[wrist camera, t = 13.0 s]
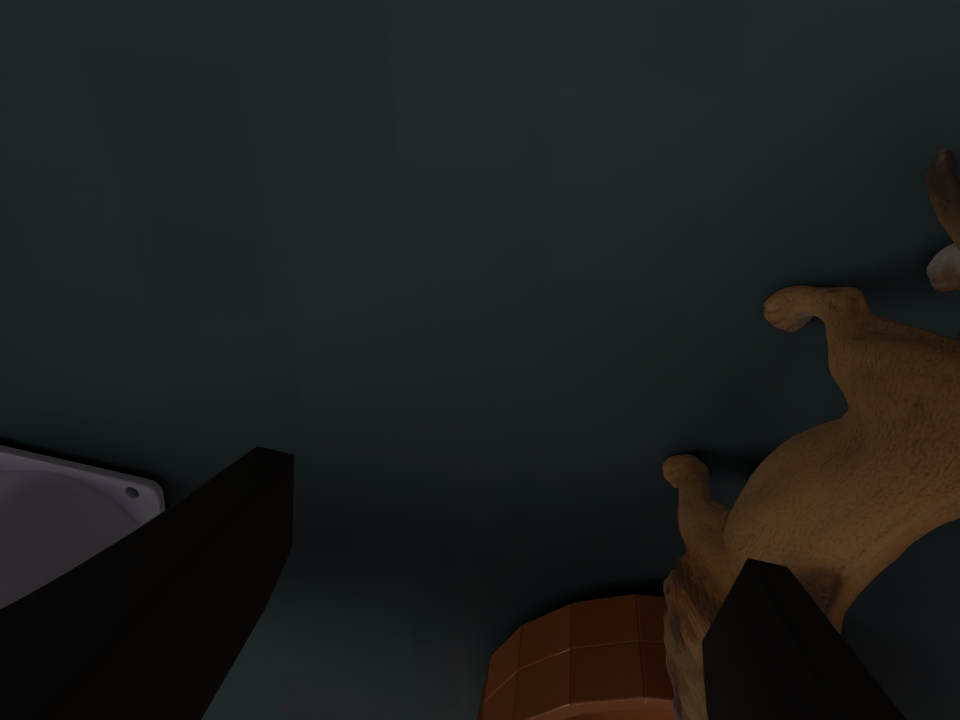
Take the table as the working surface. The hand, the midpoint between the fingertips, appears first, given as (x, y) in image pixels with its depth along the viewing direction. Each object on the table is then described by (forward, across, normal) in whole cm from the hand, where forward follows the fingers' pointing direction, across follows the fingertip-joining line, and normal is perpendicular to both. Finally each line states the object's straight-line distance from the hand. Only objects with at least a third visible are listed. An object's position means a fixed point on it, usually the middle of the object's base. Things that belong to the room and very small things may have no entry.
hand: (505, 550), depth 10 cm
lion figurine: (+10, -8, +2) cm, 13 cm away
